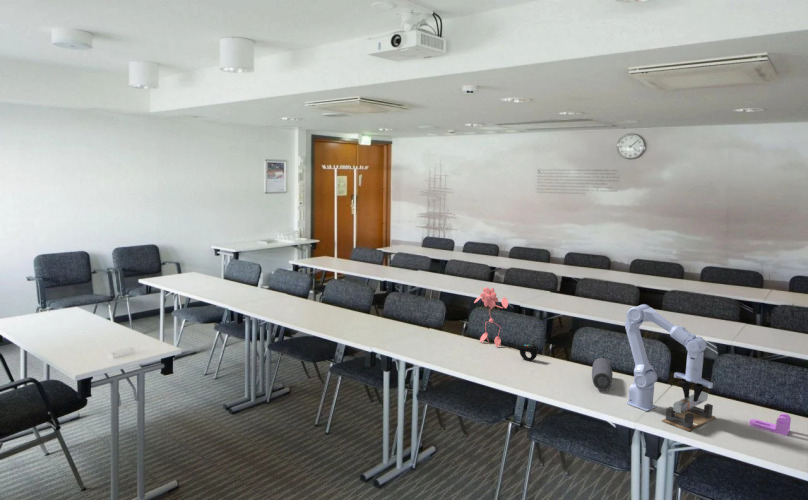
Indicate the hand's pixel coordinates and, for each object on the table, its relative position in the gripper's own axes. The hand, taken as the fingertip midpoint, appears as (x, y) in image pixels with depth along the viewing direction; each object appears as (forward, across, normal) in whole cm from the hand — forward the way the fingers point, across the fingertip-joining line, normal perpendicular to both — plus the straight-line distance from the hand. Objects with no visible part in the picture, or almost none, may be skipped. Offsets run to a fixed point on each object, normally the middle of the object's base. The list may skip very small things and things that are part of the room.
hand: (691, 399), depth 221 cm
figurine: (+10, -119, +4) cm, 119 cm away
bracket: (+10, +21, +20) cm, 31 cm away
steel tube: (+2, 0, 0) cm, 2 cm away
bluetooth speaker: (+10, -45, +6) cm, 46 cm away
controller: (+10, -89, +3) cm, 89 cm away
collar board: (+9, -1, +1) cm, 9 cm away
